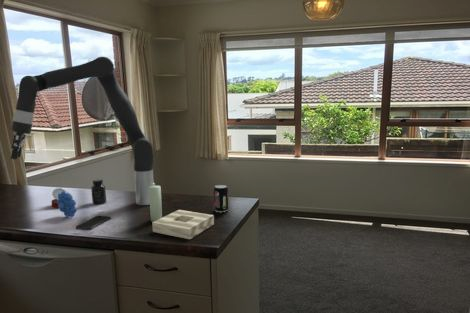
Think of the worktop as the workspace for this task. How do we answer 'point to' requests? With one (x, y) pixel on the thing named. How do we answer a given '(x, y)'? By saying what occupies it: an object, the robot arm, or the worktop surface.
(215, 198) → the beverage can
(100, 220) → the phone
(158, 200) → the peg
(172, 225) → the socket block
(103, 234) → the worktop surface
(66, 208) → the grapes
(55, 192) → the canned food
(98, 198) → the supplement bottle
